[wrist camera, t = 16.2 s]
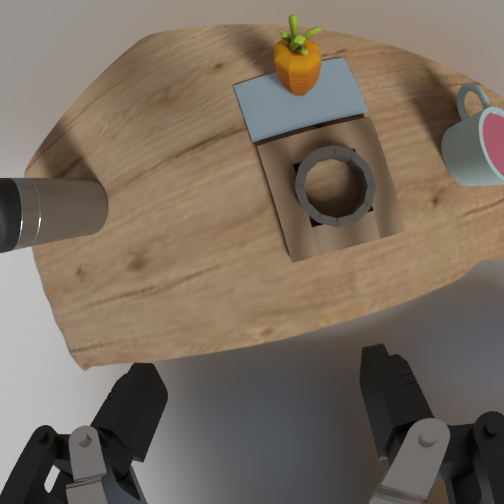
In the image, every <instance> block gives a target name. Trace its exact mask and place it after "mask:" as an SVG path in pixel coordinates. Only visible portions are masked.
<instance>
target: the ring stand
mask: <svg viewBox="0 0 504 504" xmlns="http://www.w3.org/2000/svg"><path fill="white" fill-rule="evenodd" d="M257 148H258V151H259V154H260V157H261V160H262V163H263V166H264V170H265V173H266V176H267V179H268V182H269V186H270V189H271V192H272V195H273V199H274V202H275V205H276V209H277V212H278V216H279V219H280V222H281V226H282V229H283V233H284V236H285V240H286V243H287V247H288V250H289V254H290V257H291V261H292V263H293V262H296V261H300V260H304V259H308V258H311V257H315V256H319V255H323V254H326V253H330V252H334V251H337V250H341V249H345V248H348V247H352V246H355V245H359V244H363V243H366V242H370V241H373V240H377V239H380V238H384V237H387V236H391V235H394V234H398V233H401V232H404V227H403V222H402V218H401V213H400V209H399V205H398V201H397V197H396V193H395V190H394V186H393V182H392V179H391V175H390V172H389V169H388V166H387V162H386V159H385V156H384V153H383V150H382V147H381V144H380V142H379V139H378V136H377V133H376V131H375V128H374V125H373V123H372V120H371V118H370V117H367V118H362V119H357V120H352V121H348V122H343V123H339V124H335V125H330V126H326V127H322V128H318V129H314V130H310V131H307V132H303V133H299V134H296V135H292V136H289V137H285V138H282V139H279V140H275V141H272V142H269V143H265V144H262V145H259V146H257ZM328 159H335V160H338V161H342V162H345V163H347V164H348V165H349V166H350V167H351V168H352V169H353V170H354V171H355V172H356V173H357V175H358V178H359V182H360V185H361V192H360V197H359V201H358V203H357V204H356V206H355V207H354V208H353V209H352V210H351V211H350V212H349V213H348V214H344V215H340V216H337V217H331V216H327V215H323V214H320V213H319V212H318V211H317V210H316V209H315V208H314V207H313V206H312V205H311V204H310V203H309V202H308V198H307V195H306V192H305V188H304V184H305V179H306V175H307V173H308V172H309V170H310V169H311V168H312V167H313V166H314V165H315V164H316V163H317V162H321V161H325V160H328ZM298 164H300V166H299V169H298V173H297V175H296V172H295V169H294V166H295V165H298ZM369 209H370V210H371V211H368V210H369ZM308 214H309V215H310V216H311V217H312V218H313V219H314V220H315V221H316V222H318V223H322V224H320V225H316V226H311V222H310V219H309V215H308Z"/></svg>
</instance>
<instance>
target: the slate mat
mask: <svg viewBox="0 0 504 504" xmlns="http://www.w3.org/2000/svg"><path fill="white" fill-rule="evenodd" d="M321 63H322V64H321V69H320V74H319V78H318V80H317V82H316V84H315V85H314V87H313V88H312V89H311V90H310V91H309V92H307V93H306V94H305V95H303V96H295V95H293V94H292V93H291V92H290V91H288V90H287V89H286V88H285V87H284V86H283V84H282V83H281V81H280V80H279V78H278V75H277V72H275V73H272V74H268V75H265V76H262V77H258V78H255V79H252V80H249V81H246V82H243V83H240V84H237V85H234V89H235V92H236V95H237V97H238V100H239V103H240V106H241V109H242V112H243V115H244V118H245V121H246V124H247V127H248V130H249V133H250V136H251V139H252V142H253V143H254V142H257V141H260V140H264V139H267V138H270V137H273V136H277V135H280V134H283V133H287V132H290V131H294V130H297V129H301V128H305V127H308V126H312V125H316V124H320V123H324V122H328V121H332V120H337V119H341V118H346V117H350V116H355V115H360V114H365V113H369V111H368V108H367V106H366V104H365V101H364V99H363V97H362V94H361V92H360V90H359V88H358V86H357V83H356V81H355V79H354V77H353V75H352V73H351V71H350V69H349V67H348V65H347V63H346V61H345V59H344V57H343V58H337V59H331V60H326V61H321Z"/></svg>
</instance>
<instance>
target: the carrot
mask: <svg viewBox="0 0 504 504" xmlns="http://www.w3.org/2000/svg"><path fill="white" fill-rule="evenodd" d="M289 23H290V30H291V35H292V36H291V35H290V34H289V33H288V32H287V31H283V32H281V34H280V35H281V38H282V40H281V41H279V42H278V43H277V44H276V45H274V65H275V68H276V72H277V75H278V78H279V80H280V81H281V83H282V84H283V86H284V87H285V88H286V89H287V90H288V91H290V92H291V93H292V94H293V95H295V96H303V95H305V94H306V93H307V92H309V91H310V90H311V89H312V88H313V87H314V85H315V84H316V82H317V80H318V78H319V74H320V69H321V64H322V63H321V54H320V47H319V45H317V44H316V43H314V42H313V41H311V40H310V39H308V38H309V37H310V36H312V35H313V34H315V33H317V32H320V31H322V29H321V28H319V27H315V28H313V29H311V30H309V31H308V32H307V33H305V35H304V36H299V35H298V18H297V15H290V16H289Z"/></svg>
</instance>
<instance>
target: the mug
mask: <svg viewBox="0 0 504 504" xmlns="http://www.w3.org/2000/svg"><path fill="white" fill-rule="evenodd" d="M468 91H473V92H475V93H476V94H477V95H478V97H479V98H480V100H481V102H482V105H483V111H481V112H479V113H477V114H475V115H473V116H471V117H469V118H468V117H467V115H466V112H465V108H464V99H465V95H466V93H467V92H468ZM457 108H458V112H459V116H460V118H461V120H462V121H461V122H459V123H457V124H455V125H453V126H451V127H449V128H448V129H447V130H446V131H445V133H444V135H443V138H442V142H441V152H442V157H443V161H444V164H445V166H446V168H447V170H448V172H449V173H450V174H451V176H452V177H453V178H454V179H455V180H456V181H457V182H459V183H460V184H462V185H465V186H482V185H497V184H504V111H503V110H502V109H500V108H497V107H491V106H490V103H489V100H488V98H487V96H486V94H485V93H484V91H483V90H482V89H481V88H480V87H479V86H477V85H475V84H473V83H466V84H463V85H462V86H461V87H460V89H459V91H458V95H457Z"/></svg>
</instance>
